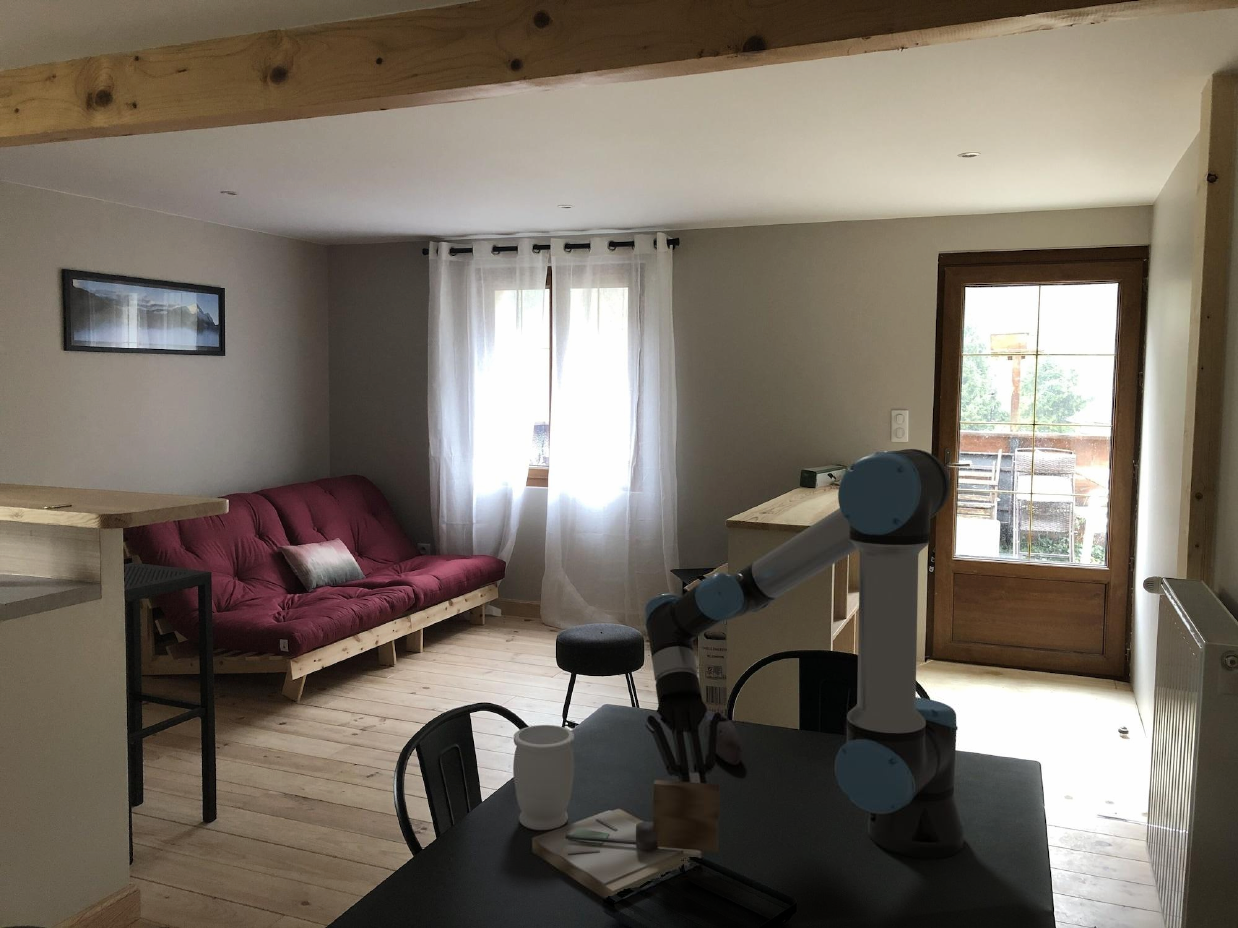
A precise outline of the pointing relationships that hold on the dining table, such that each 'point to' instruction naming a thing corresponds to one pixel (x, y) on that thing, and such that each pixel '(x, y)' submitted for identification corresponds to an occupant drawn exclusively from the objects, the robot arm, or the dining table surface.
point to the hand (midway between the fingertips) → (699, 816)
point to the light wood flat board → (607, 854)
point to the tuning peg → (677, 819)
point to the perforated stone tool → (727, 741)
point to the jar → (543, 775)
